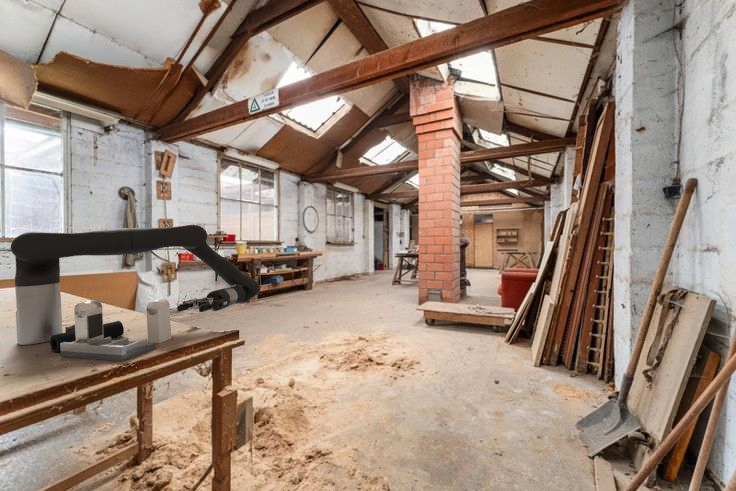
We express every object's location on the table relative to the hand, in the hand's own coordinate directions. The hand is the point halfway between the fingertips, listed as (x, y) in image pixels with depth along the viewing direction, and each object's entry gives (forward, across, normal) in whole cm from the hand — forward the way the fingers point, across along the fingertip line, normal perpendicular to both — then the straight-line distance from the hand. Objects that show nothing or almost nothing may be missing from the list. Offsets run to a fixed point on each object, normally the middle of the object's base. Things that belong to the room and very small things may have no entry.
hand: (189, 308), depth 100 cm
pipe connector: (+16, -23, +7) cm, 28 cm away
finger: (+11, 0, +7) cm, 13 cm away
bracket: (+21, -6, +7) cm, 23 cm away
